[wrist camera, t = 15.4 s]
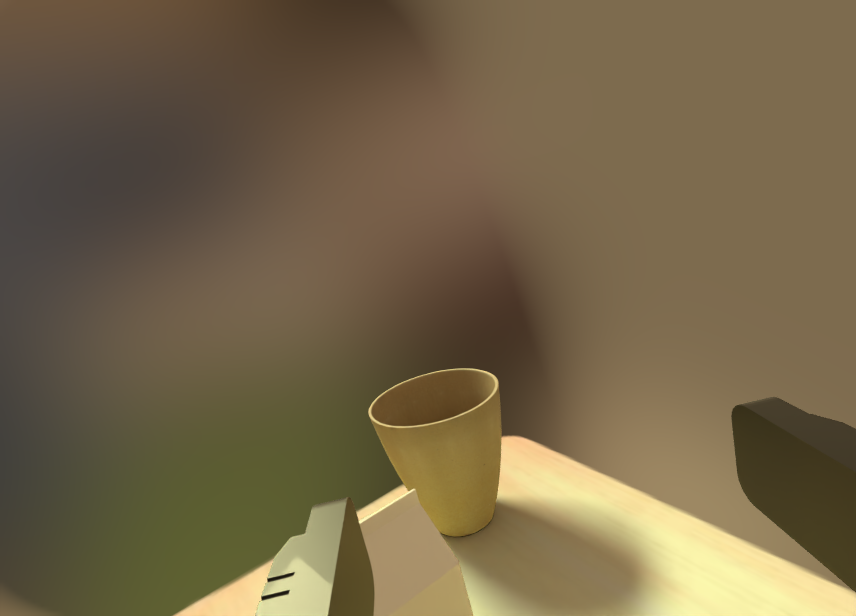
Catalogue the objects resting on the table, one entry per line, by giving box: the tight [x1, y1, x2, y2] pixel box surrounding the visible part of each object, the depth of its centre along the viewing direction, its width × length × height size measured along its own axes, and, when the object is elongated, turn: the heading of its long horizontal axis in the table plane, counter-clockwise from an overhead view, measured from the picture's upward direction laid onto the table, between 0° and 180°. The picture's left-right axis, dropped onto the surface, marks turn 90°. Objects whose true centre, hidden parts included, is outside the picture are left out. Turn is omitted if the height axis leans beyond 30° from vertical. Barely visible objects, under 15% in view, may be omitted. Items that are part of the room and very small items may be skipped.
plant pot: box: [369, 369, 501, 537], centre depth 60 cm, size 15×15×16 cm
